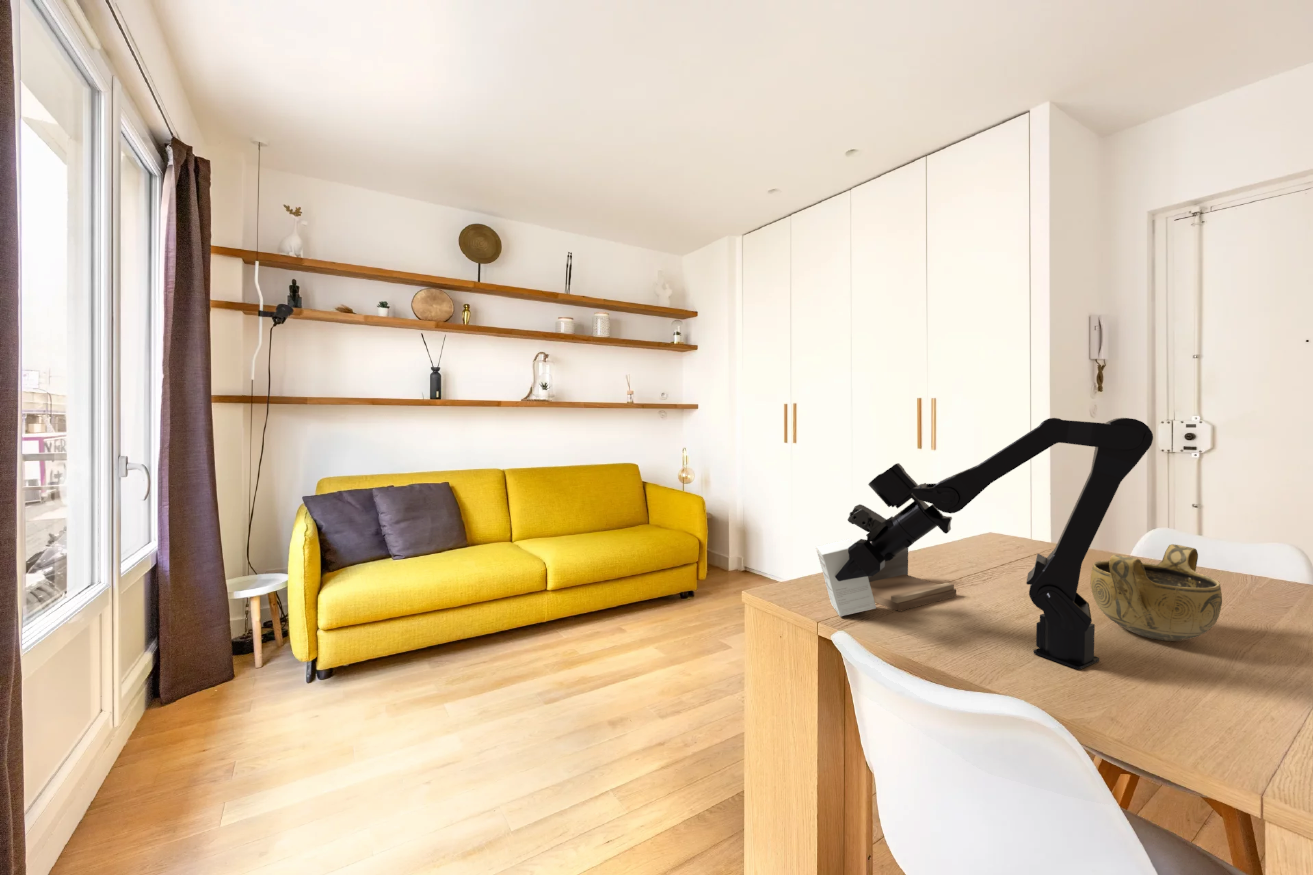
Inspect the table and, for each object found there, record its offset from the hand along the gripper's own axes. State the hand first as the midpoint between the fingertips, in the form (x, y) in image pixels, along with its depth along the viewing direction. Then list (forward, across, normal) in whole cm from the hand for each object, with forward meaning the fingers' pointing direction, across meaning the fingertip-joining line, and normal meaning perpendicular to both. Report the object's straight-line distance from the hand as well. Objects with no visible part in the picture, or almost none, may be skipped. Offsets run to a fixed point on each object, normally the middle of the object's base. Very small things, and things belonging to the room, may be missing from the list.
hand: (844, 573), depth 105 cm
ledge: (0, -17, +10) cm, 20 cm away
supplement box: (+4, 0, +6) cm, 7 cm away
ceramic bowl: (-29, -21, +38) cm, 52 cm away
